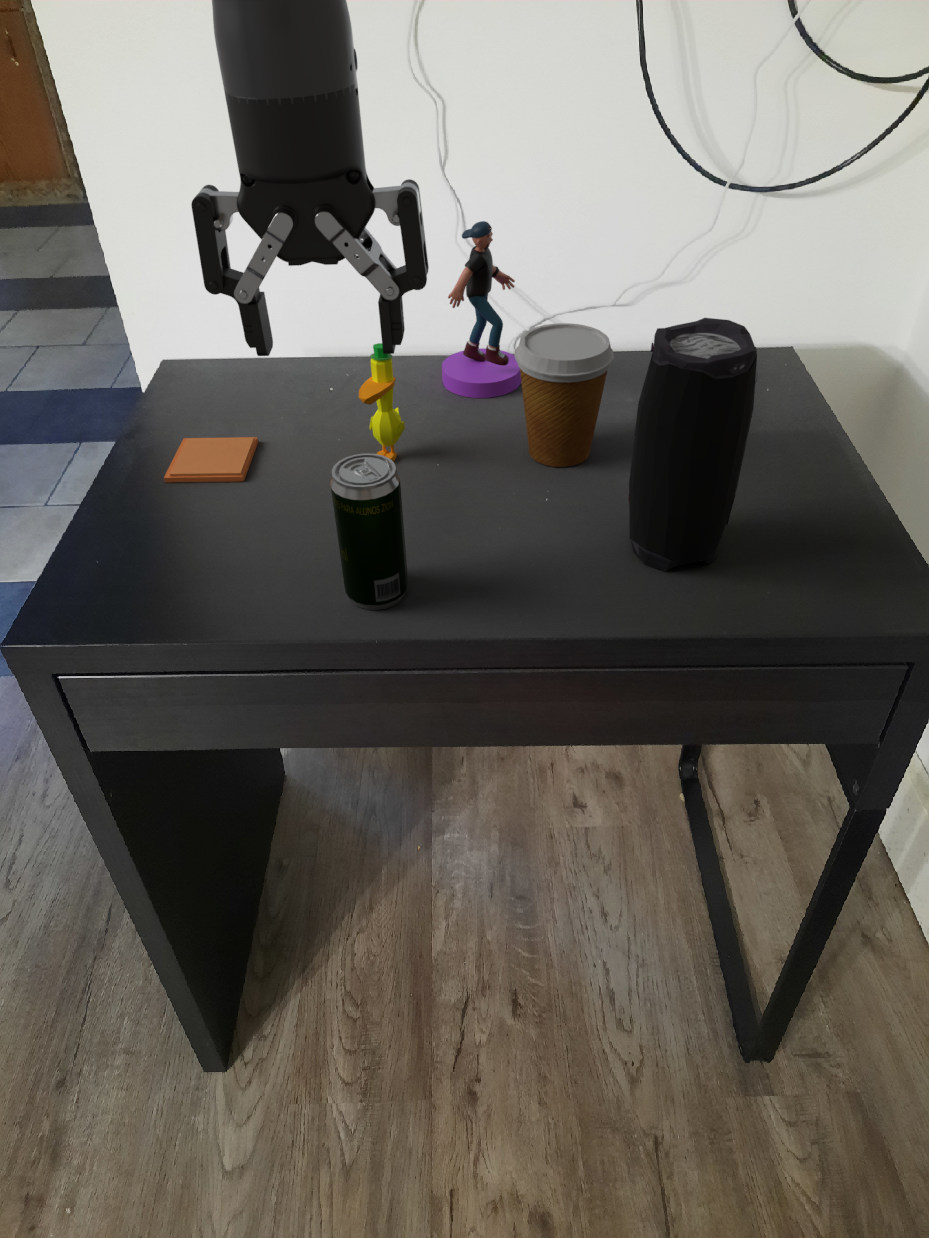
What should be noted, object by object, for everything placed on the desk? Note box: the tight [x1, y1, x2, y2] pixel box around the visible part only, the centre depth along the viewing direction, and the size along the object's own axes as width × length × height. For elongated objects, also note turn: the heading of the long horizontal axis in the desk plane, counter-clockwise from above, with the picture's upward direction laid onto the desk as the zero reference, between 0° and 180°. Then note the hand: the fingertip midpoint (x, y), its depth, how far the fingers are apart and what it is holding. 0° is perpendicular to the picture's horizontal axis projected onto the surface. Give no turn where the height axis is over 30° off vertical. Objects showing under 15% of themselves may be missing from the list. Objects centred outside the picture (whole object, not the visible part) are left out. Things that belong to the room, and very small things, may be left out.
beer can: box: [329, 452, 409, 611], centre depth 73 cm, size 5×5×12 cm
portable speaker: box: [627, 317, 758, 572], centre depth 74 cm, size 9×9×20 cm
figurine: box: [441, 220, 521, 399], centre depth 101 cm, size 9×9×18 cm
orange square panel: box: [163, 436, 259, 483], centre depth 93 cm, size 8×8×1 cm
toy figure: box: [358, 342, 406, 463], centre depth 89 cm, size 7×4×12 cm, turn 156°
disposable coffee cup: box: [514, 322, 615, 468], centre depth 90 cm, size 10×10×12 cm
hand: (328, 350), depth 62 cm, fingers open, 8 cm apart
